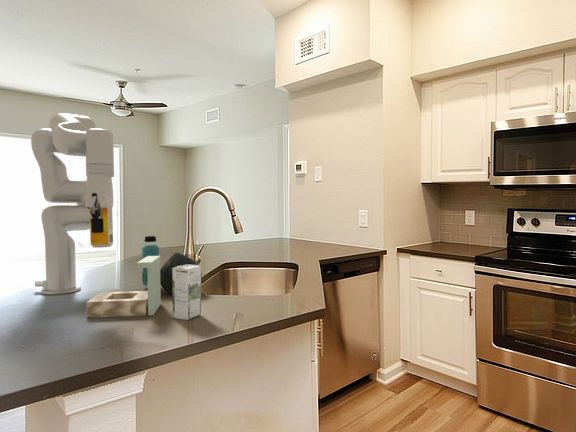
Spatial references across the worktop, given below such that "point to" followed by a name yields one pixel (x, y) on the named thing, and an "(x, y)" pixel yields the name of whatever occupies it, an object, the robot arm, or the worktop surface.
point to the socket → (118, 304)
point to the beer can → (107, 236)
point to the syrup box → (186, 291)
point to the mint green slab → (152, 281)
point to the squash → (167, 270)
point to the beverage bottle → (149, 254)
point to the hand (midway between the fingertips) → (101, 231)
